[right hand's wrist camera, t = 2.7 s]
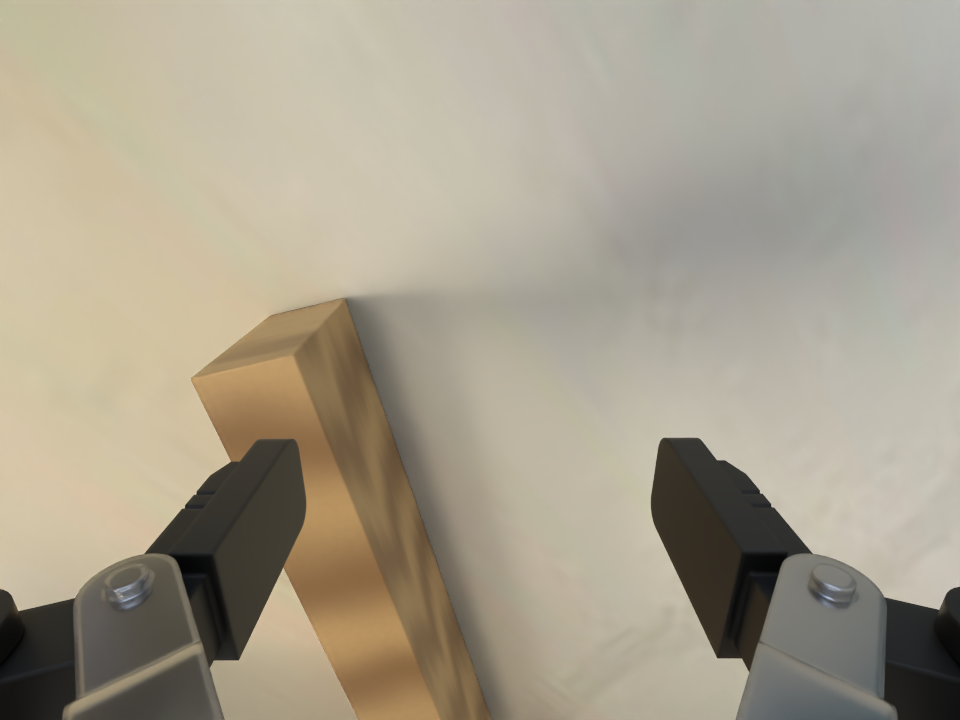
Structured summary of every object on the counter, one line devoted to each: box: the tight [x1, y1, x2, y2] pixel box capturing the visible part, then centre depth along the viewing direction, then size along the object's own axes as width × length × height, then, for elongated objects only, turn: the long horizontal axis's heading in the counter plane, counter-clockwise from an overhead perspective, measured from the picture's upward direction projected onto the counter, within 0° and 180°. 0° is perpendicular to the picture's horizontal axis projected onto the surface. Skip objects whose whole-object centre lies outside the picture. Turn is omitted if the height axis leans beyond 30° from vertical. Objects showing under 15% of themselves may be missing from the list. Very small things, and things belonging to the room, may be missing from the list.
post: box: [191, 299, 491, 720], centre depth 34 cm, size 51×4×8 cm, turn 13°
